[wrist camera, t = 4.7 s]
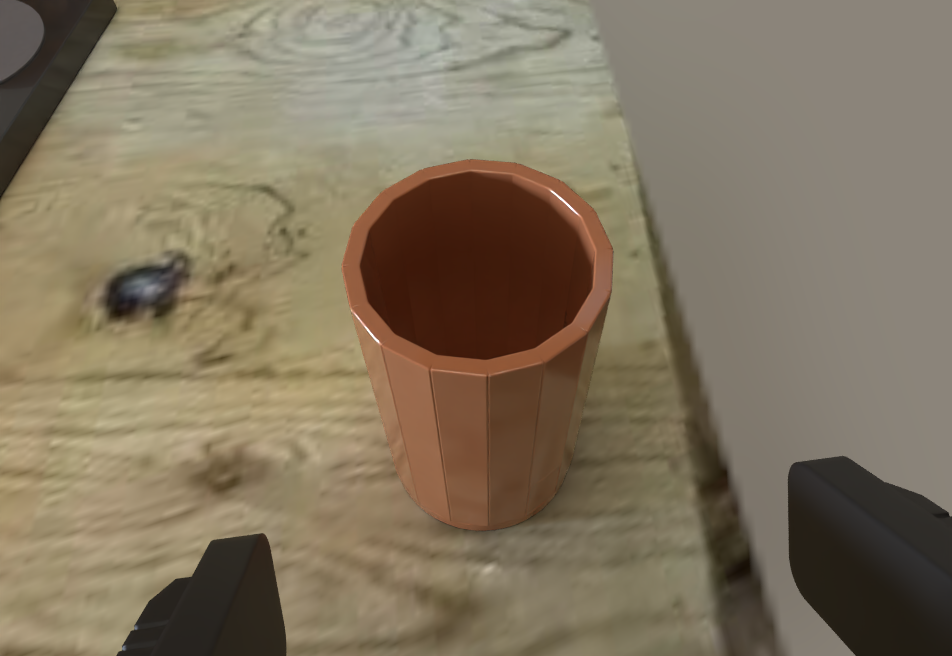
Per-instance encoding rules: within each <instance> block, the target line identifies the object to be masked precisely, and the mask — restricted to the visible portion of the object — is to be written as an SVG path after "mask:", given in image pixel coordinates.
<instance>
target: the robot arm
mask: <svg viewBox="0 0 952 656" xmlns="http://www.w3.org/2000/svg"><path fill="white" fill-rule="evenodd" d="M788 521H789V560H790V566H791V571H792V574H793V577H794V580H795V583H796V585H797V587H798V589H799V591H800V593H801V594H802V596H803V597H804V599H805V600H806V601H807V602H808V603H809V604H810V605H811V606H812V608H813V609H814V610H815V611H816V612H817V613H818V614H819V615H820V617H821V618H822V619H823V620H824V621H825V622H826V623H827V624H828V625H829V626H830V627H831V628H832V630H833V631H834V632H835V633H836V634H837V635H838V636H839V638H840V639H841V640H842V641H843V642H844V643H845V644H846V645H847V646H848V648H849V649H850V650H851V651H852V652H853V653H854V654H855V655H856V656H952V517H950V516H949V513H948V512H947V511H945V510H944V509H942V508H941V507H939V506H938V505H936V504H935V503H933V502H932V501H930V500H929V499H927V498H925V497H924V496H922V495H920V494H917V493H914V492H912V491H909V490H906V489H903V488H901V487H898V486H895V485H892V484H889V483H886V482H883V481H882V480H880V479H879V478H877V477H876V476H875V475H873V474H872V473H870V472H869V471H867V470H866V469H864V468H863V467H861V466H860V465H858V464H857V463H855V462H854V461H852V460H851V459H849V458H847V457H844V456H839V457H832V458H825V459H818V460H810V461H803V462H796V463H794V464H793V465H792V466H791V468H790V471H789V475H788ZM134 627H135V629H134V630H133V631H131V632H130V634H129V636H128V637H127V639H126V641H125V642H124V644H123V646H122V651H119V652H118V654H117V656H286V634H285V626H284V620H283V615H282V609H281V604H280V598H279V593H278V587H277V582H276V577H275V571H274V566H273V560H272V555H271V550H270V545H269V542H268V539H267V537H266V535H265V534H263V533H261V534H254V535H247V536H239V537H232V538H224V539H217V540H212V541H211V542H210V544H209V545H208V547H207V549H206V551H205V553H204V555H203V557H202V559H201V560H200V562H199V564H198V566H197V568H196V570H195V572H194V574H193V575H192V577H187V578H180V579H175V580H174V581H173V582H172V583H171V584H169V585H168V586H167V587H166V588H165V589H163V590H162V591H161V592H160V593H159V594H157V595H156V596H155V597H154V598H153V599H151V600H150V601H149V602H148V604H147V606H146V607H145V609H144V611H143V612H142V614H141V616H140V617H139V619H138V621H137V622H136V624H135V626H134Z"/></svg>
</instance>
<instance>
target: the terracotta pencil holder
mask: <svg viewBox="0 0 952 656" xmlns="http://www.w3.org/2000/svg"><path fill="white" fill-rule="evenodd" d="M342 273H343V278H344V283H345V287H346V292H347V297H348V301H349V306H350V310H351V314H352V317H353V321H354V324H355V328H356V331H357V335H358V338H359V342H360V345H361V349H362V352H363V356H364V359H365V363H366V366H367V370H368V373H369V377H370V380H371V384H372V387H373V391H374V394H375V398H376V401H377V405H378V408H379V412H380V415H381V419H382V422H383V426H384V429H385V433H386V436H387V440H388V443H389V447H390V451H391V454H392V458H393V461H394V465H395V468H396V472H397V474H398V476H399V478H400V480H401V482H402V484H403V486H404V488H405V489H406V491H407V492H408V494H409V495H410V497H411V498H412V499H413V500H414V501H415V502H416V503H417V505H419V506H420V507H421V508H422V509H423V510H424V511H425V512H427V513H428V514H430V515H431V516H433V517H434V518H436V519H438V520H440V521H442V522H444V523H446V524H449V525H452V526H455V527H458V528H463V529H468V530H479V531H486V530H497V529H502V528H507V527H510V526H513V525H516V524H518V523H521V522H523V521H525V520H527V519H529V518H530V517H532V516H533V515H535V514H536V513H538V512H539V511H540V510H541V509H543V508H544V507H545V506H546V505H547V504H548V503H549V502H550V501H551V499H552V498H553V497H554V496H555V495H556V493H557V492H558V490H559V488H560V487H561V485H562V483H563V481H564V479H565V477H566V474H567V471H568V468H569V467H570V465H571V462H572V457H573V453H574V449H575V445H576V440H577V436H578V432H579V428H580V423H581V419H582V415H583V411H584V407H585V402H586V398H587V394H588V390H589V385H590V381H591V377H592V373H593V368H594V364H595V360H596V356H597V351H598V347H599V343H600V339H601V334H602V330H603V326H604V322H605V318H606V313H607V309H608V305H609V301H610V296H611V292H612V273H613V248H612V246H611V244H610V241H609V239H608V237H607V235H606V233H605V231H604V229H603V226H602V224H601V222H600V220H599V218H598V216H597V213H596V212H595V211H594V209H593V208H592V207H591V206H590V205H589V204H587V203H586V202H585V201H584V200H583V199H582V198H581V197H579V196H578V195H577V194H576V193H575V192H574V191H573V190H572V189H570V188H569V187H568V186H567V185H566V184H565V183H564V182H562V181H560V180H559V179H556V178H554V177H551V176H549V175H546V174H544V173H541V172H539V171H536V170H534V169H531V168H529V167H526V166H524V165H521V164H517V163H511V162H499V161H487V160H475V159H470V160H468V159H467V160H462V161H458V162H453V163H448V164H443V165H438V166H433V167H428V168H424V169H423V170H419V171H417V172H416V173H414V174H412V175H410V176H408V177H407V178H405V179H403V180H401V181H399V182H398V183H396V184H394V185H392V186H391V187H389V188H387V189H385V190H383V191H382V192H381V193H380V194H379V195H378V196H377V198H376V199H375V200H374V201H373V202H372V203H371V205H370V206H369V207H368V208H367V209H366V210H365V212H364V213H363V214H362V215H361V216H360V217H359V219H358V220H357V221H356V222H355V223H354V226H353V227H352V230H351V234H350V237H349V241H348V244H347V248H346V251H345V255H344V258H343V262H342Z"/></svg>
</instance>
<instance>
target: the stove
mask: <svg viewBox="0 0 952 656" xmlns="http://www.w3.org/2000/svg"><path fill="white" fill-rule="evenodd" d="M116 10H117V7H116V5H115V3H114V0H0V196H1V195H2V193H3V191H4V190H5V188H6V187H7V185H8V183H9V182H10V180H11V179H12V177H13V175H14V174H15V172H16V171H17V169H18V167H19V166H20V164H21V163H22V161H23V159H24V158H25V156H26V154H27V153H28V151H29V150H30V148H31V146H32V145H33V143H34V142H35V140H36V138H37V137H38V135H39V134H40V132H41V130H42V129H43V127H44V126H45V124H46V122H47V121H48V119H49V117H50V116H51V114H52V113H53V111H54V109H55V108H56V106H57V105H58V103H59V101H60V100H61V98H62V97H63V95H64V93H65V92H66V90H67V88H68V87H69V85H70V84H71V82H72V80H73V79H74V77H75V76H76V74H77V72H78V71H79V69H80V68H81V66H82V64H83V63H84V61H85V60H86V58H87V56H88V55H89V53H90V51H91V50H92V48H93V47H94V45H95V43H96V42H97V40H98V39H99V37H100V35H101V34H102V32H103V31H104V29H105V27H106V26H107V24H108V23H109V21H110V19H111V18H112V16H113V14H114V13H115V11H116Z"/></svg>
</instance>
